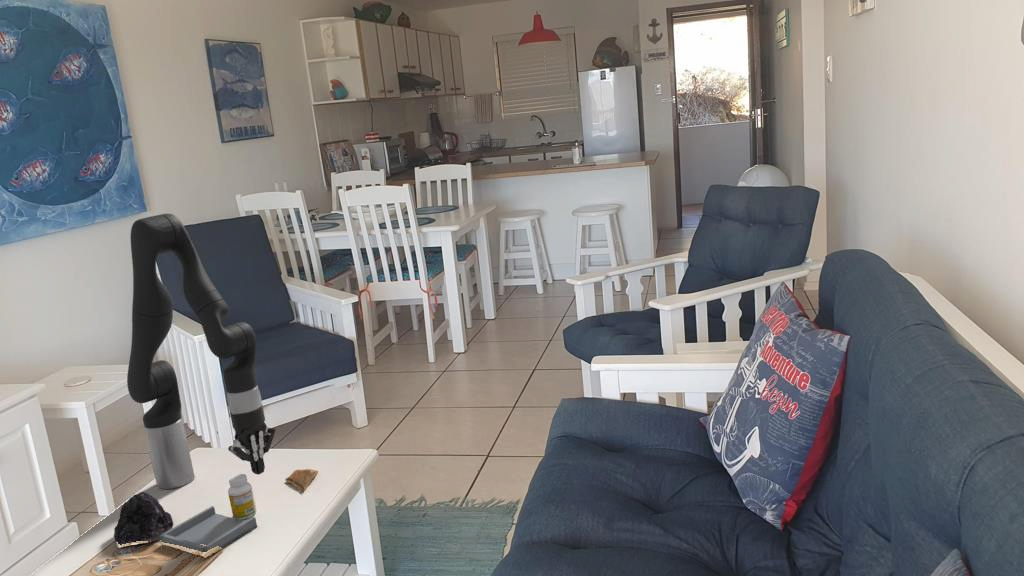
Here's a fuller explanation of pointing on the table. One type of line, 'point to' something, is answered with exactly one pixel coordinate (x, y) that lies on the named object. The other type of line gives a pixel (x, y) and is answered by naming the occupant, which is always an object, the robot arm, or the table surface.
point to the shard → (301, 478)
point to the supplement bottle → (241, 497)
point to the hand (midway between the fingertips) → (259, 472)
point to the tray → (208, 531)
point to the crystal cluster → (142, 520)
